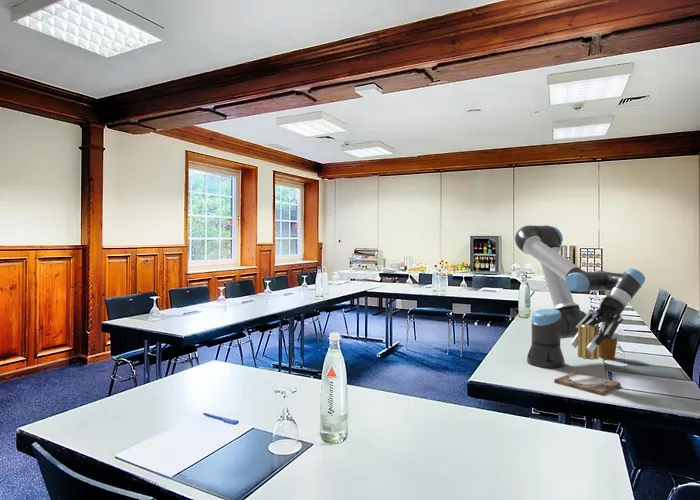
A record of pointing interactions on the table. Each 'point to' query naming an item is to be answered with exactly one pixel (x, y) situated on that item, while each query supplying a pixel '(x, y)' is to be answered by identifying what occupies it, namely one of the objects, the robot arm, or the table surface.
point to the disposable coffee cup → (608, 347)
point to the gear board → (587, 383)
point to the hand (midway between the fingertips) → (580, 347)
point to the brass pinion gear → (587, 341)
